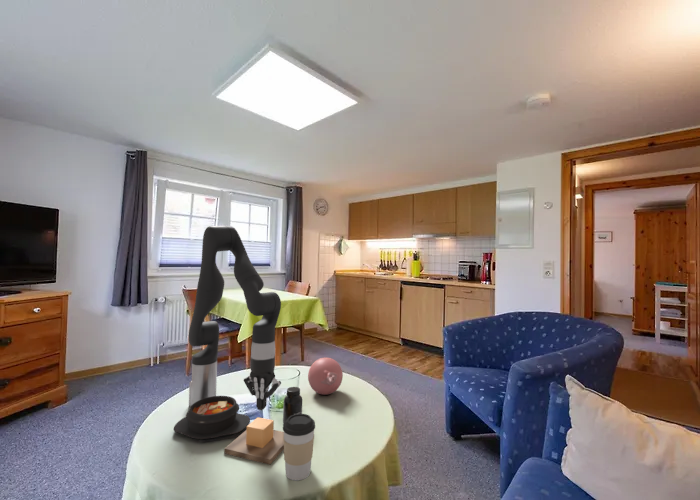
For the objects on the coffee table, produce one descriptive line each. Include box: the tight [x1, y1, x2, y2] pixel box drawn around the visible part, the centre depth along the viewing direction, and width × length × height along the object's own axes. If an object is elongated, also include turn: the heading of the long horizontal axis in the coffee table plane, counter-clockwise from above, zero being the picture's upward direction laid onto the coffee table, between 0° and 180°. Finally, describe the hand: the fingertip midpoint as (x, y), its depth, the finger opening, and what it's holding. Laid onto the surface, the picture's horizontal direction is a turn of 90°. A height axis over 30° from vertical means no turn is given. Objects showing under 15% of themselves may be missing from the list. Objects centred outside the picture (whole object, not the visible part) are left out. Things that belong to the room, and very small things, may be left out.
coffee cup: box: [282, 413, 316, 481], centre depth 88 cm, size 9×9×15 cm
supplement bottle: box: [282, 386, 303, 423], centre depth 114 cm, size 7×7×12 cm
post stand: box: [223, 429, 284, 466], centre depth 100 cm, size 16×14×6 cm
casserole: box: [173, 395, 251, 440], centre depth 109 cm, size 25×19×8 cm
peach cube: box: [246, 416, 275, 448], centre depth 100 cm, size 6×6×6 cm
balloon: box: [307, 357, 344, 396], centre depth 137 cm, size 15×20×15 cm
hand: (261, 409), depth 100 cm, fingers closed
